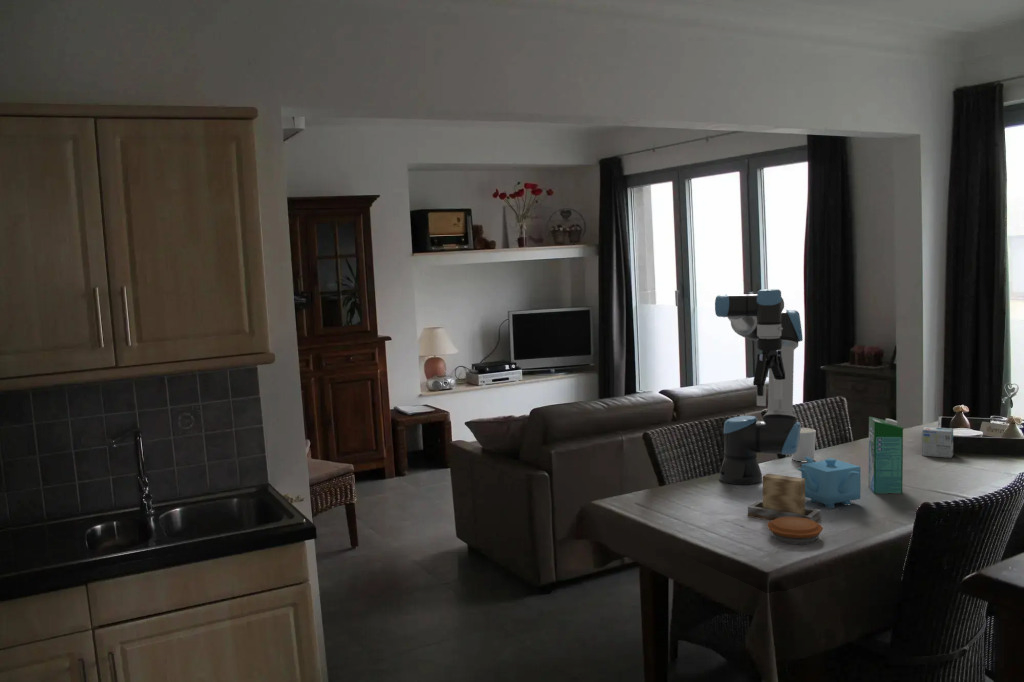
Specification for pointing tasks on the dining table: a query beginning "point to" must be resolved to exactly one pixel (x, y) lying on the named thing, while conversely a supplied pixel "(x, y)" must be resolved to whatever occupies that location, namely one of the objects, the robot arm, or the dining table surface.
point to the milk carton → (885, 456)
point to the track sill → (780, 513)
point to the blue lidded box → (831, 481)
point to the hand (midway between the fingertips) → (769, 402)
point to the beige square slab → (784, 493)
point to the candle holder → (805, 445)
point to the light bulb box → (937, 442)
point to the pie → (795, 530)
